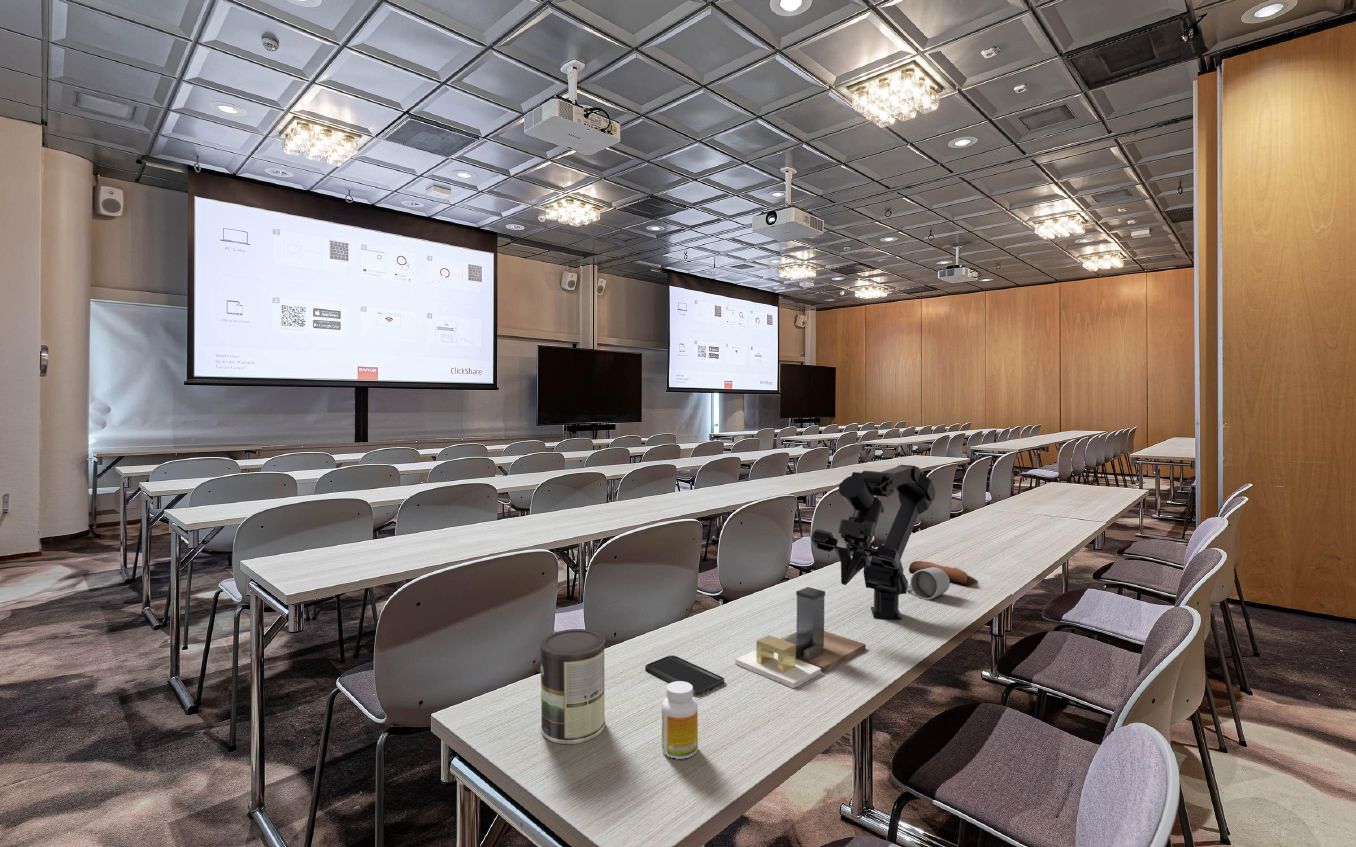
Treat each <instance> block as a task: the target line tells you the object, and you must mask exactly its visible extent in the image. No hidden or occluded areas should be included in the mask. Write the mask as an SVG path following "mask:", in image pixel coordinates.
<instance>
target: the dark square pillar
mask: <svg viewBox="0 0 1356 847" xmlns="http://www.w3.org/2000/svg"><path fill="white" fill-rule="evenodd" d="M795 595H796V632H797V636H795V637H793V638H791V639H789V640H786V641H787V642H790V643H793V644H796V658H798V657H800V656H802V655H804V650H806V649H808V648H810V647H812V646H814V645H816V644H821V645H823V647H824V631H825V596H826V591H825V590H821V589H817V588H813V587H810V586H807V587H804V588H801V589H799V590H797V591H796V592H795Z"/></svg>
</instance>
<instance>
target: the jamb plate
mask: <svg viewBox="0 0 1356 847" xmlns="http://www.w3.org/2000/svg"><path fill="white" fill-rule="evenodd" d="M734 663H735V665H736V666H739V667H741V668H744V669H746V670H748V671H751V672H754V673H756V674H759V675H761V676H763V677H765V678H767V679H771V680H773V681H775V682H778V683H779V684H782V685H784V686H787V687H789V688H792V689H795V688H797V687H799V686H800V685H801V686H802V684H805V683H806V682H808V681H810V680H811V679H813V678H815V677H817V676H819V675H820V674H822V672H821V668H819V667H816V666H814V665H811V664H808V663H806V662H803V661H800V660H798V659H796V666H795V667H793V668H792V669H790V670H788V671H786V672H784V673H782V672H780V671H778V654H777V653H775V652H774V658H773V659H771V660H769V661H767V662H765V663H763V664H760V663H757V662H756V649H755V650H752V651H750V652H748V653H746V654H743V655H741V656H740V657H737V658H735V662H734Z"/></svg>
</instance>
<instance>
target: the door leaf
mask: <svg viewBox="0 0 1356 847" xmlns="http://www.w3.org/2000/svg"><path fill="white" fill-rule="evenodd" d="M793 635H795V636H797V631H795V632H793V633H791V634H788V635H787V636H784V637H781V639H782V640H784V639H786V638H788V637H791V636H793ZM866 644H867V643H863V642H861V641H857V640H855V639H852V638H851V639H850V638H848V637H845V636H841V635H839V634H835V633H832V632H829V631H826V630H824V647H823V654H822V655H820V656H818V657H816V658H814V659H812V660H810V661H807V660H804V655H802V656H800V657H798V658H796V659H798V660H800V661H803V662H806V663H808V664H811V665H814V666H816V667H819V668H821V673H824V672H826V671H829V670H830V669H832V668H833V667H835V666H837V665H839V664H841V663H842V662H845V661H846V660H848V659H850V658H852V657H854V656H855V655H858V654H859V653H861V652H862V651H864V650H866V647H867V646H866Z"/></svg>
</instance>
